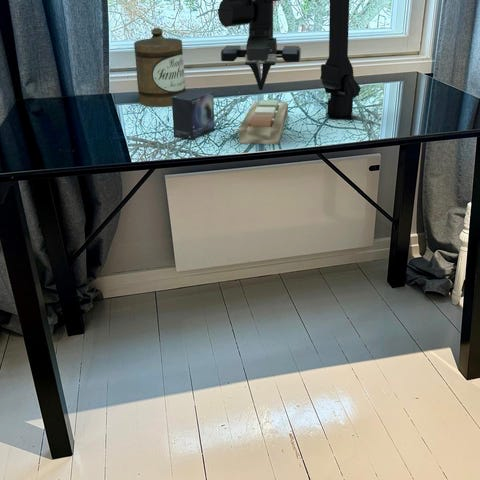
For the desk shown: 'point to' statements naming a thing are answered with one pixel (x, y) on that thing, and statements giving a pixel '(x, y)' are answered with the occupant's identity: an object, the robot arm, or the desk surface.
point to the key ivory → (265, 111)
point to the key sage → (269, 104)
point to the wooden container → (159, 69)
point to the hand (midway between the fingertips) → (261, 89)
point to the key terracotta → (261, 121)
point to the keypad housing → (263, 133)
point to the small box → (193, 113)
